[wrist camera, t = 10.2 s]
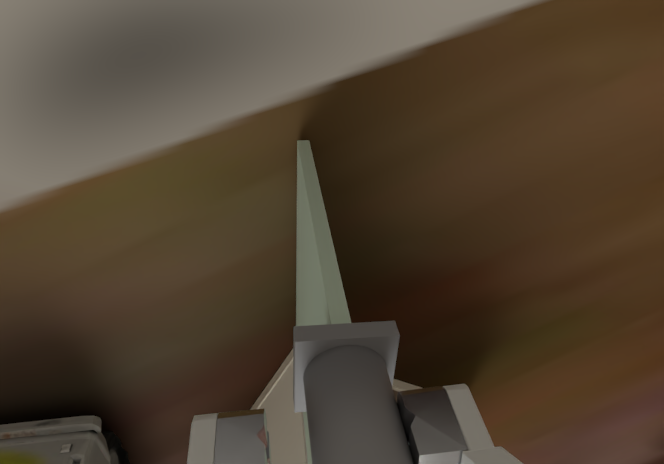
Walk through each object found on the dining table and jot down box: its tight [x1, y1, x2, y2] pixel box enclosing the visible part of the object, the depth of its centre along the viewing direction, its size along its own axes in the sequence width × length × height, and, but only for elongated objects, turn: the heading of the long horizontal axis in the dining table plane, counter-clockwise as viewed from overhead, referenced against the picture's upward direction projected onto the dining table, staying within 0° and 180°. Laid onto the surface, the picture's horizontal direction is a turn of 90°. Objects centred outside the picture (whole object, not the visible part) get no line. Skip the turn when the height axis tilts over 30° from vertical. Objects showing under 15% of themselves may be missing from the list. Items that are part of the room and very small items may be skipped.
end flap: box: [293, 140, 414, 464], centre depth 19 cm, size 2×12×17 cm, turn 177°
